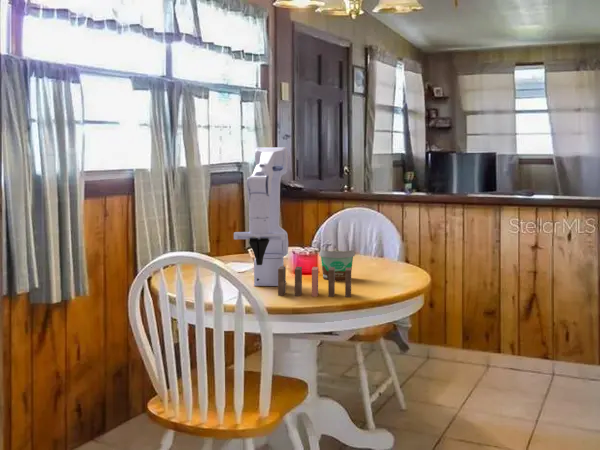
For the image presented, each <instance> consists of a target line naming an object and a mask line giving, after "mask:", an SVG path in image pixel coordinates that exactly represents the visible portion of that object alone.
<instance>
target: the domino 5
mask: <svg viewBox="0 0 600 450" xmlns="http://www.w3.org/2000/svg"><path fill="white" fill-rule="evenodd" d="M344 282H345V285H344V287H345V289H344V293H345V294H344V295H345V296H344V297H345V298H351V297H352V271H351V268H346V270H345V281H344Z"/></svg>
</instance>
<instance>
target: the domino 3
mask: <svg viewBox="0 0 600 450" xmlns="http://www.w3.org/2000/svg"><path fill="white" fill-rule="evenodd" d="M318 295H319V266H312V268H311V297H318Z"/></svg>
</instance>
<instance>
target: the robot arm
mask: <svg viewBox="0 0 600 450" xmlns="http://www.w3.org/2000/svg"><path fill="white" fill-rule="evenodd" d="M254 152H255V153H254V161H255V167H254V169H253V172H252V174H251V175H250V176H248V177H247V179H246V193H247V202H248V214H249V216H248V219H249V220H248V222H249V223H248V227H249V229H248V231H235V232H233V240H236V241H237V240H249V241H248V243H249V245H250V247H251V250H252V252H253V255H254V261H253V263H254V264H253V286H255V287H256V286H257V287H258V286H259V287H260V286H261V287H262V286H263V287H264V286H265V287H278V269H279V267H280V266H284V264H285V263H284V259H285V257H286V256H288V251H289V238H288V232H287V230H285V229H284V228H282V227H281V226H280V217H281V216H280V214H281V212H280V211H281V210H280V209H281V208H280V205H281V203H280V202H281V179H282V176H284V175H286V174H287V173H288V169H289V168H288V161H289V160H288V159H289V155H288V153H289V152H288V148H287V147H286V146H283V147H282V146H281V147H279V146H278V147H273V146H272V147H270V146H269V147H266V146H265V147H264V146H262V147H260V146H257V147H256V148H255V151H254Z"/></svg>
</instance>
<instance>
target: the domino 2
mask: <svg viewBox="0 0 600 450" xmlns="http://www.w3.org/2000/svg"><path fill="white" fill-rule="evenodd" d="M302 284H303V266H296V267H295V268H294V297H301V295H302V293H303V285H302Z"/></svg>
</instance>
